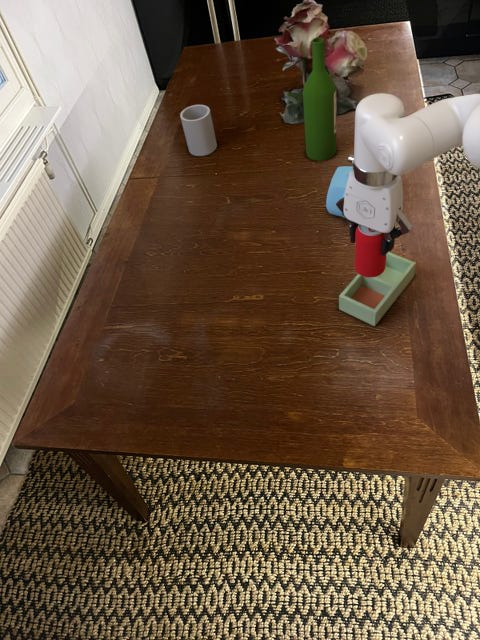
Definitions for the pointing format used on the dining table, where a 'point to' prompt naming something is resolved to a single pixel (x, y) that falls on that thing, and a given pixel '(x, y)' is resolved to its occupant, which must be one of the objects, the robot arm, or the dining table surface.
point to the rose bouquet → (339, 54)
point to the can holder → (377, 290)
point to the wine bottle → (319, 108)
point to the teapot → (337, 189)
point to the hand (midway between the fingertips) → (371, 244)
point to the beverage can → (369, 252)
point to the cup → (198, 130)
